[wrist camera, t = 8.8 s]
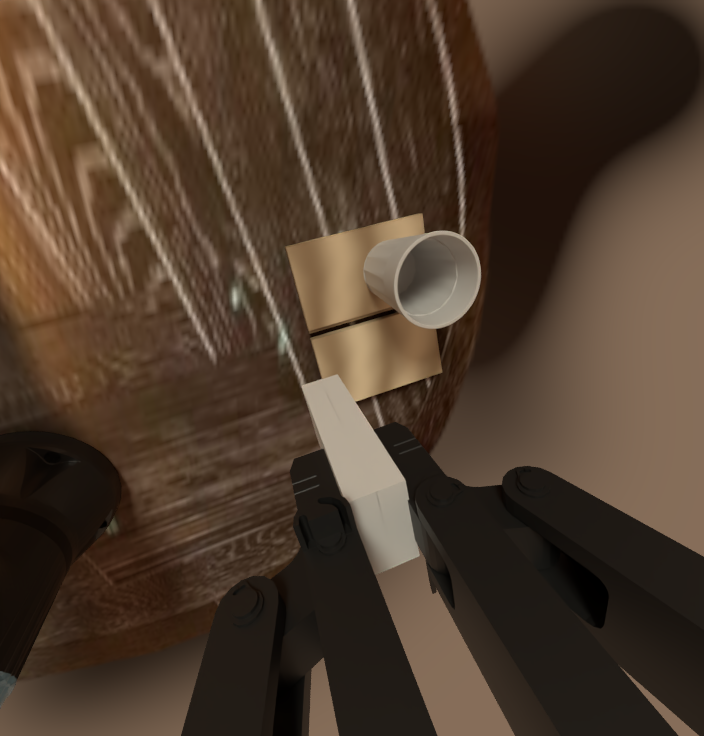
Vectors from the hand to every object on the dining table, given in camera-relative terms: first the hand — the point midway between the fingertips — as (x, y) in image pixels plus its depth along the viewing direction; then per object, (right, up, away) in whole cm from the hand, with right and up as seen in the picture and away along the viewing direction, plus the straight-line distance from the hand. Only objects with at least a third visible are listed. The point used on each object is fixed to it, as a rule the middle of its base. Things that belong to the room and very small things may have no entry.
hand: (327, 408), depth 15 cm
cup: (+5, +13, +26) cm, 30 cm away
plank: (+4, +3, +29) cm, 30 cm away
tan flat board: (+2, +12, +25) cm, 28 cm away
